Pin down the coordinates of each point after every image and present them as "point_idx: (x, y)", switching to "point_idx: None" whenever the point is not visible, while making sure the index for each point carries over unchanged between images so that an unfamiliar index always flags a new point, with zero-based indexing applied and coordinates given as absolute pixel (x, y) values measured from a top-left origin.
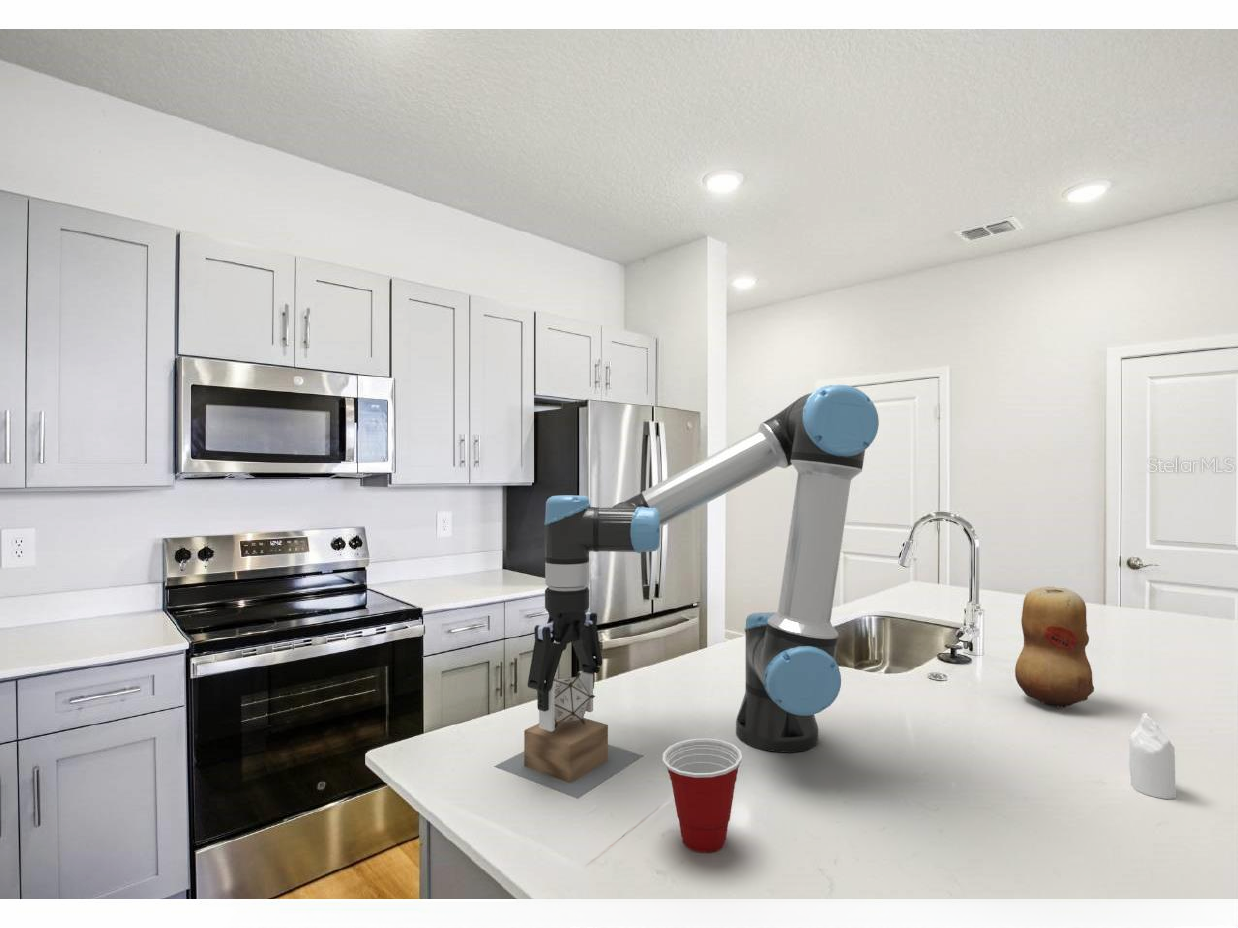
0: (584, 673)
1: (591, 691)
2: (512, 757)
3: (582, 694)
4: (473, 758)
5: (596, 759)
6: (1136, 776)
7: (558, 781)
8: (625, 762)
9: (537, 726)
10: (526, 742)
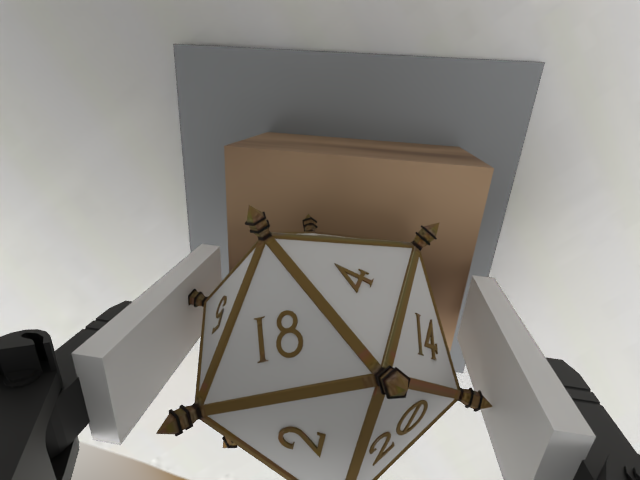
0: (110, 403)
1: (162, 290)
2: None
3: (314, 274)
4: (430, 430)
5: (323, 138)
6: None
7: None
8: (248, 69)
9: None
10: None
